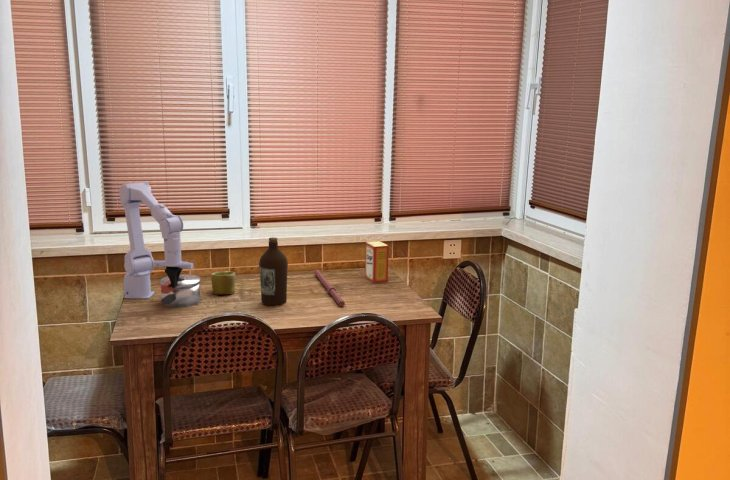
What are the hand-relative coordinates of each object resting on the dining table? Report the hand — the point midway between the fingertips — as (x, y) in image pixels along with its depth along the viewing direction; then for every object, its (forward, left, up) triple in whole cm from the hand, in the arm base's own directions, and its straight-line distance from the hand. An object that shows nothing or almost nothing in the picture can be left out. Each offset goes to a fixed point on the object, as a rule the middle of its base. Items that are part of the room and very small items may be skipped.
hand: (174, 286), depth 232 cm
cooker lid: (-1, +7, -1) cm, 7 cm away
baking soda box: (+74, +43, -9) cm, 86 cm away
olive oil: (+34, +10, -9) cm, 37 cm away
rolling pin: (+54, +27, -9) cm, 61 cm away
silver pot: (-1, +7, -9) cm, 11 cm away
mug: (+13, +23, -9) cm, 28 cm away
